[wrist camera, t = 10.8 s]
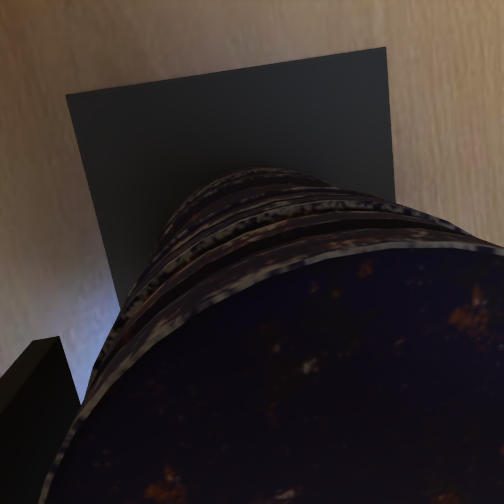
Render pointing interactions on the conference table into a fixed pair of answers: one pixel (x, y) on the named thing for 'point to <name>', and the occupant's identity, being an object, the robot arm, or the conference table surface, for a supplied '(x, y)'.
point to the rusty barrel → (297, 358)
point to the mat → (227, 140)
